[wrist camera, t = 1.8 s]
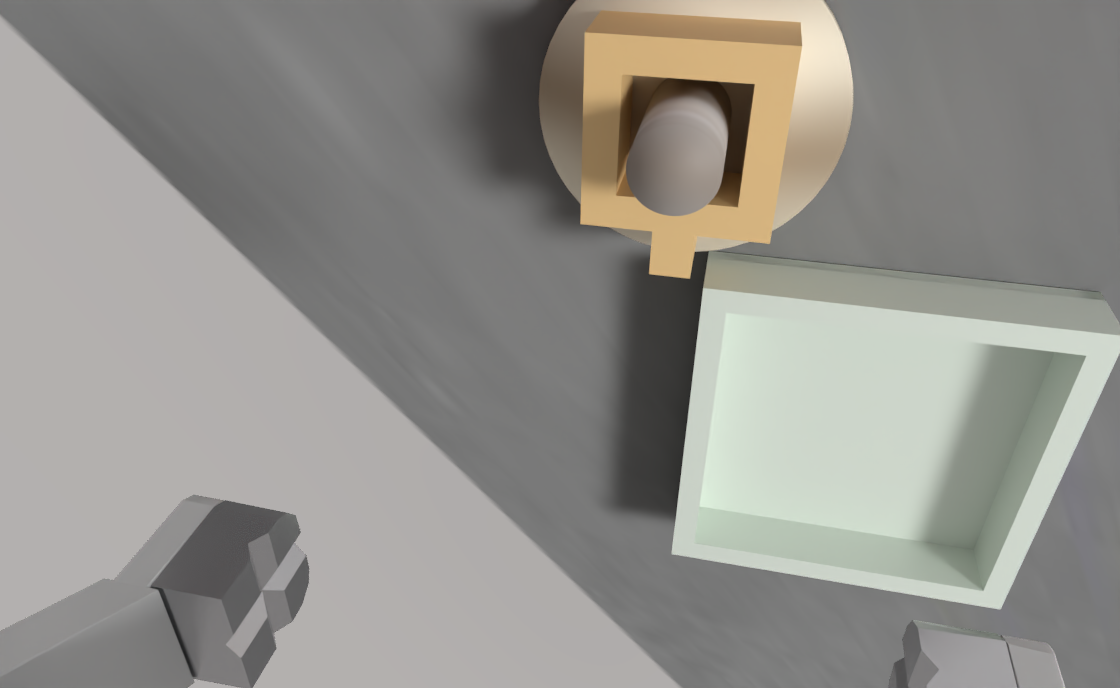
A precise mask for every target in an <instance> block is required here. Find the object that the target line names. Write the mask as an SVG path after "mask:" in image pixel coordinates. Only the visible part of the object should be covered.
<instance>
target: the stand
mask: <svg viewBox="0 0 1120 688" xmlns="http://www.w3.org/2000/svg"><path fill="white" fill-rule="evenodd" d="M601 10H604V11H621V12H638V13H655V14H672V15H688V16H705V17H722V18H739V19H756V20H773V21H790V22H801V35H802V51H801V57H800V63H799V69H798V75H797V81H796V87H795V93H794V99H793V105H792V111H791V118H790V124H789V130H788V136H787V142H786V148H785V154H784V160H783V166H782V172H781V178H780V184H779V190H778V196H777V203H776V209H775V215H774V221H773V227H772V231H773V230H775V229H776V228H778V227H780V226H781V225H783V224H785V223H786V222H787V221H789V220H790V219H791V218H793V217H794V216H795V215H796V214H798V213H799V212H800V211H801V210H802V209H803V208H804V207H805V206H806V205H807V204H808V203H809V202H810V201H811V200H812V199H813V198H814V197H815V196H816V195H817V193H818V192H819V191H820V190H821V188H822V187H823V186H824V184H825V183H826V182H827V180H828V178H829V177H830V175H831V173H832V172H833V170H834V168H835V167H836V165H837V163H838V160H839V158H840V156H841V153H842V151H843V149H844V146H845V143H846V140H847V136H848V132H849V129H850V124H851V117H852V110H853V81H852V74H851V67H850V61H849V57H848V52H847V48H846V45H845V42H844V38H843V35H842V32H841V29H840V27H839V25H838V23H837V21H836V18H835V16H834V14H833V12H832V10H831V9H830V7H829V6H828V4H827V3H826V1H825V0H576V1H575V2H574V4H573V5H572V6H571V7H570V9H569V10H568V12H567V13H566V15H565V16H564V18H563V19H562V21H561V22H560V24H559V25H558V27H557V30H556V32H555V34H554V36H553V38H552V40H551V42H550V44H549V47H548V50H547V54H546V57H545V60H544V63H543V68H542V73H541V79H540V89H539V111H540V122H541V127H542V132H543V137H544V141H545V144H546V147H547V150H548V153H549V156H550V158H551V160H552V162H553V164H554V166H555V168H556V171H557V173H558V174H559V176H560V178H561V179H562V181H563V182H564V184H565V185H566V187H567V188H568V190H569V191H570V192H571V193H572V195H573V196H574V197H575V198H576V199H577V200H578V202H579V203H580V204H581V176H582V132H583V88H584V44H585V31H586V30H587V29H588V27H589V26H590V25H591V23H592V22H593V21H594V19H595V18H596V17H597V15H598V14H599V13H600V11H601ZM753 86H754V84H746V83H732V82H718V81H704V80H691V79H677V78H663V77H649V76H635V75H633V91H632V109H631V127H630V145H629V155H628V158H627V162H626V177H627V181H628V185H629V187H630V189H631V191H632V193H633V195H634V196H635V197H636V198H637V200H638V201H639V202H640V203H641V204H642V205H644V206H645V207H646V208H648V209H650V210H652V211H654V212H656V213H659V214H662V215H667V216H683V215H688V214H691V213H694V212H696V211H698V210H700V209H702V208H703V207H705V206H706V205H707V204H708V203H709V202H710V201H711V200H712V199H713V198H714V197H715V195H716V194H717V192H718V190H719V188H720V185H721V182H722V177H723V172H730V173H741V174H742V166H743V159H744V152H745V144H746V137H747V130H748V122H749V115H750V108H751V100H752V93H753ZM609 228H611V229H613V230H615V231H617V232H618V233H620V234H622V235H624V236H626V237H628V238H631V239H633V240H635V241H638V242H640V243H643V244H647V245H650V246H651V242H652V231H642V230H633V229H623V228H613V227H609ZM747 242H748V241H739V240H729V239H719V238H710V237H700V236H697V242H696V247H695V252H698V251H713V250H719V249H724V248H730V247H734V246H737V245H740V244H744V243H747Z"/></svg>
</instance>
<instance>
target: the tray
mask: <svg viewBox="0 0 1120 688" xmlns="http://www.w3.org/2000/svg"><path fill="white" fill-rule="evenodd" d="M1119 353H1120V324H1119V322H1118V320H1117V319H1116V317H1115V315H1114V314H1113V312H1112V310H1111V309H1110V307H1109V305H1108V304H1107V302H1106V300H1105V299H1104V297H1103V295H1102V294H1101V292H1092V291H1083V290H1074V289H1064V288H1055V287H1045V286H1036V285H1027V284H1017V283H1008V282H999V281H989V280H980V279H970V278H961V277H952V276H942V275H933V274H923V273H914V272H905V271H895V270H886V269H876V268H867V267H858V266H848V265H839V264H829V263H820V262H811V261H801V260H792V259H782V258H773V257H764V256H754V255H745V254H735V253H726V252H717V251H709V254H708V260H707V267H706V273H705V280H704V286H703V294H702V302H701V311H700V319H699V328H698V336H697V344H696V353H695V361H694V370H693V378H692V386H691V395H690V403H689V412H688V420H687V428H686V437H685V445H684V454H683V462H682V470H681V479H680V487H679V496H678V504H677V513H676V521H675V529H674V538H673V546H672V554H675V555H681V556H686V557H692V558H698V559H704V560H710V561H716V562H722V563H728V564H734V565H740V566H746V567H752V568H758V569H764V570H769V571H775V572H781V573H787V574H793V575H799V576H805V577H811V578H817V579H823V580H829V581H835V582H841V583H846V584H852V585H858V586H864V587H870V588H876V589H882V590H888V591H894V592H900V593H906V594H912V595H918V596H924V597H929V598H935V599H941V600H947V601H953V602H959V603H965V604H971V605H977V606H983V607H989V608H995V609H1001V607H1002V605H1003V603H1004V601H1005V599H1006V596H1007V594H1008V592H1009V590H1010V588H1011V586H1012V583H1013V581H1014V579H1015V577H1016V575H1017V573H1018V571H1019V568H1020V566H1021V564H1022V562H1023V560H1024V558H1025V555H1026V553H1027V551H1028V549H1029V547H1030V545H1031V543H1032V540H1033V538H1034V536H1035V534H1036V532H1037V530H1038V527H1039V525H1040V523H1041V521H1042V519H1043V517H1044V514H1045V512H1046V510H1047V508H1048V506H1049V504H1050V502H1051V499H1052V497H1053V495H1054V493H1055V491H1056V489H1057V486H1058V484H1059V482H1060V480H1061V478H1062V476H1063V474H1064V471H1065V469H1066V467H1067V465H1068V463H1069V461H1070V458H1071V456H1072V454H1073V452H1074V450H1075V448H1076V446H1077V443H1078V441H1079V439H1080V437H1081V435H1082V433H1083V430H1084V428H1085V426H1086V424H1087V422H1088V420H1089V418H1090V415H1091V413H1092V411H1093V409H1094V407H1095V405H1096V402H1097V400H1098V398H1099V396H1100V394H1101V392H1102V390H1103V387H1104V385H1105V383H1106V381H1107V379H1108V377H1109V374H1110V372H1111V370H1112V368H1113V366H1114V364H1115V362H1116V359H1117V357H1118V355H1119Z"/></svg>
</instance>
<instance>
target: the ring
mask: <svg viewBox="0 0 1120 688" xmlns="http://www.w3.org/2000/svg"><path fill="white" fill-rule="evenodd" d="M801 51H802V35H801V22H790V21H773V20H756V19H739V18H722V17H705V16H688V15H672V14H655V13H638V12H621V11H604V10H601V11H600V13H599V14H598V15H597V17H596V18H595V19H594V21H593V22H592V23H591V25H590V26H589V27H588V29H587V30H586V31H585V44H584V88H583V132H582V176H581V220H580V224H585V225H594V226H604V227H613V228H623V229H633V230H642V231H652V242H651V255H650V268H649V274H652V275H661V276H670V277H679V278H688V279H690V275H691V269H692V264H693V258H694V253H695V247H696V242H697V236H700V237H710V238H719V239H729V240H739V241H748V242H758V243H768V244H770V239H771V233H772V227H773V221H774V215H775V209H776V203H777V196H778V190H779V184H780V178H781V172H782V166H783V160H784V154H785V148H786V142H787V136H788V130H789V124H790V118H791V111H792V105H793V99H794V93H795V87H796V81H797V75H798V69H799V63H800V57H801ZM633 75H635V76H649V77H663V78H677V79H691V80H704V81H718V82H732V83H746V84H754V86H753V93H752V100H751V108H750V115H749V122H748V130H747V137H746V144H745V152H744V159H743V166H742V174H741V173H730V172H723V177H722V182H721V185H720V188H719V190H718V192H717V194H716V195H715V197H714V198H713V199H712V200H711V201H710V202H709V203H708V204H707V205H706V206H705V207H703V208H702V209H700V210H698V211H696V212H694V213H691V214H688V215H683V216H667V215H662V214H659V213H656V212H654V211H652V210H650V209H648V208H646V207H645V206H644V205H642V204H641V203H640V202H639V201H638V200H637V198H636V197H635V196H634V195H633V193H632V191H631V189H630V187H629V185H628V181H627V177H626V162H627V158H628V155H629V145H630V127H631V109H632V91H633Z"/></svg>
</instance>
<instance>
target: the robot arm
mask: <svg viewBox="0 0 1120 688" xmlns="http://www.w3.org/2000/svg"><path fill="white" fill-rule="evenodd" d="M299 534H300V529H299V525H298V522H297V519H296V516H295V515H292V514H289V513H285V512H280V511H275V510H270V509H265V508H260V507H255V506H250V505H245V504H240V503H235V502H231V501H226V500H225V501H224V500H219V499H214V498H208V497H203V496H198V495H192V496H190V497H189V498H186V499H185V500H183V501H182V502H181V503H180V504H179V505H178V506H177V507H176V508H175V509H174V511H173V512H172V513H171V514H170V515H169V516H168V518H167V519H166V520H165V521H164V522H163V523H162V525H161V526H160V527H159V528H158V529H157V530H156V532H155V533H154V534H153V535H152V536H151V537H150V539H149V540H148V541H147V542H146V543H145V544H144V545H143V547H142V548H141V549H140V550H139V551H138V553H137V554H136V555H135V556H134V557H133V558H132V559H131V561H130V562H129V563H128V564H127V565H126V566H125V568H124V569H123V570H122V571H121V572H120V573H119V575H118V576H117V577H116V578H115V579H114V580H109V579H102V580H100V581H98V582H97V583H95V584H93V585H91V586H89V587H87V588H85V589H83V590H81V591H79V592H77V593H75V594H73V595H71V596H69V597H67V598H65V599H63V600H61V601H59V602H57V603H55V604H53V605H51V606H49V607H47V608H45V609H43V610H41V611H39V612H37V613H35V614H33V615H31V616H29V617H27V618H25V619H24V620H21V621H19V622H17V623H15V624H13V625H12V626H10V627H8V628H5V629H3V630H1V631H0V688H188V687H189V686H190V685H192V684H193V683H194V679H198V680H204V681H209V682H214V683H220V684H225V685H231V686H236V687H241V688H253V686H254V684H255V683H256V681H257V680H258V678H259V676H260V675H261V673H262V671H263V669H264V668H265V666H266V664H267V663H268V661H269V660H270V658H271V656H272V655H273V653H274V651H275V650H276V643H275V636H274V632H276V631H278V630H279V629H281V628H283V627H284V626H286V625H287V624H289V623H291V622H292V621H293V619H294V618H295V616H296V614H297V612H298V611H299V609H300V607H301V605H302V603H303V600H304V596H305V593H306V590H307V587H308V583H309V566H308V562H307V557H306V554H304V552H303V551H302V550H301V549H300V548H299V547H298V546H297V545H296V544H295V543H294V542H295V541H296V539H297V537H298V536H299ZM902 641H903V649H904V658H902V659H900V660H899V661H897V662H895V663H894V666H893V669H892V673H891V676H890V679H889V685H888V688H1065V685H1064V682H1063V679H1062V676H1061V672H1060V669H1059V666H1058V663H1057V659H1056V656H1055V653H1054V651H1053V649H1052V648H1051V647H1050V646H1049V644H1048V643H1045V642H1039V641H1033V640H1027V639H1021V638H1015V637H1010V636H1004V635H1000V636H999V635H998V634H996V633H989V632H983V631H977V630H971V629H964V628H958V627H952V626H946V625H940V624H933V623H927V622H921V621H915V620H912V621H911V622H910V623H909V625H908V626H907V628H906V631H905V634H904V636H903V639H902Z"/></svg>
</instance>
